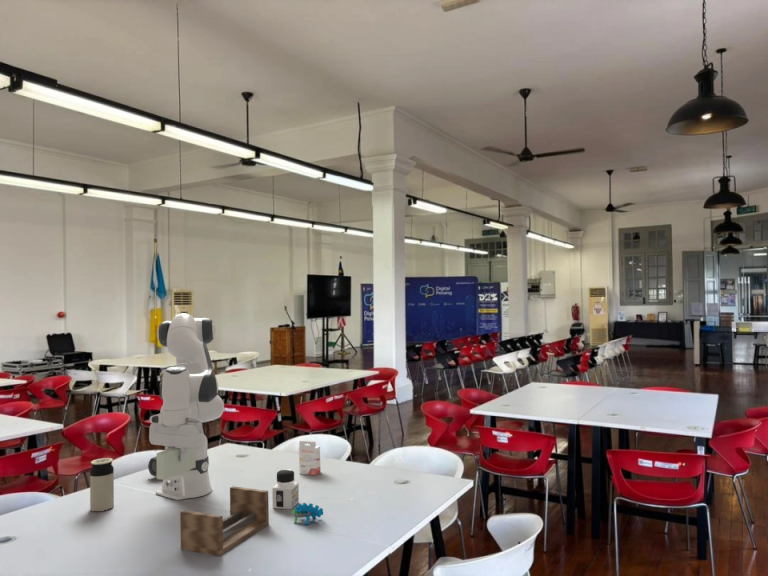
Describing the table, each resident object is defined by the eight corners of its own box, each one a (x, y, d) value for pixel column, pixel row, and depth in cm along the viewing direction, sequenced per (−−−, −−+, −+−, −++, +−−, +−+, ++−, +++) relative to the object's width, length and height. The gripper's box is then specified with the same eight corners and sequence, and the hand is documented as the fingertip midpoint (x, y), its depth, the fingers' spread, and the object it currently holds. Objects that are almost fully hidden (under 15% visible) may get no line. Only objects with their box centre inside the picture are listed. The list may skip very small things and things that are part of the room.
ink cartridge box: (321, 472, 252) (320, 439, 253) (316, 475, 248) (316, 442, 248) (303, 470, 255) (303, 438, 255) (299, 474, 250) (298, 441, 251)
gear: (328, 513, 197) (317, 500, 190) (325, 530, 192) (314, 517, 186) (300, 515, 200) (288, 502, 194) (296, 531, 196) (284, 518, 189)
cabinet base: (180, 548, 174) (180, 511, 174) (233, 518, 198) (232, 486, 198) (219, 556, 168) (219, 517, 169) (268, 524, 192) (268, 490, 193)
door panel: (156, 478, 174) (156, 453, 175) (188, 466, 187) (188, 442, 188) (164, 479, 173) (163, 454, 174) (195, 467, 186) (195, 443, 186)
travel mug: (118, 506, 213) (118, 458, 214) (100, 513, 206) (99, 464, 207) (104, 503, 217) (103, 457, 217) (85, 510, 209) (85, 462, 210)
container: (291, 509, 206) (291, 474, 206) (272, 508, 208) (271, 473, 208) (299, 502, 214) (298, 468, 214) (280, 501, 215) (279, 467, 216)
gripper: (208, 417, 180) (208, 460, 179) (160, 413, 188) (160, 454, 187) (194, 421, 174) (195, 465, 174) (145, 417, 182) (145, 459, 182)
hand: (176, 460), depth 180 cm, fingers closed on door panel, 3 cm apart
